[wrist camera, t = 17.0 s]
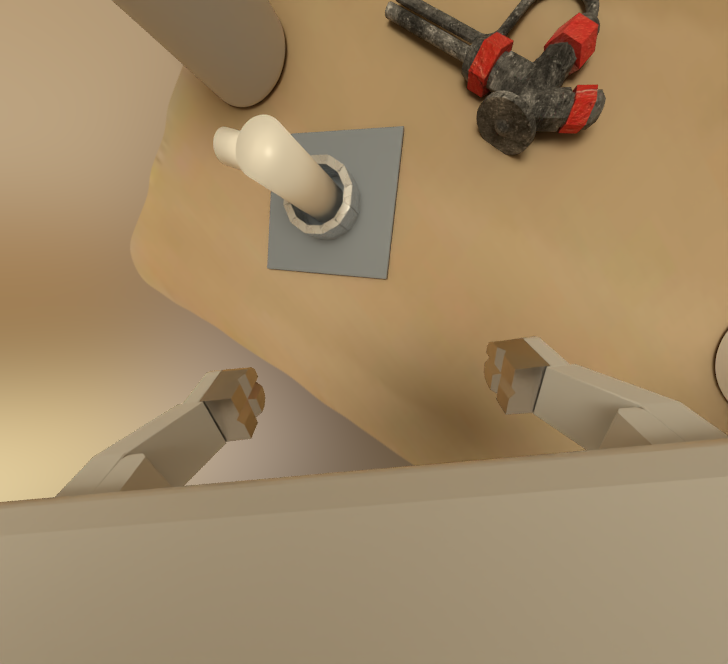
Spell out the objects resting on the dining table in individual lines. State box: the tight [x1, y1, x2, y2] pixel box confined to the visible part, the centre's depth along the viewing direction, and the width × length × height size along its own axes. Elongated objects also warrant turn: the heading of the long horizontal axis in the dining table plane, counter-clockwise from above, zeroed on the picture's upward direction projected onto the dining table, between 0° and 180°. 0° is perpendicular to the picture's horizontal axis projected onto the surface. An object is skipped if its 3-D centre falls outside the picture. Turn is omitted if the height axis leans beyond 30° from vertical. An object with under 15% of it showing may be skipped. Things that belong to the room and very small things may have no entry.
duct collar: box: [283, 154, 361, 240], centre depth 34 cm, size 9×9×4 cm
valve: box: [385, 0, 606, 155], centre depth 28 cm, size 6×26×15 cm
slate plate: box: [267, 126, 404, 279], centre depth 36 cm, size 18×18×1 cm
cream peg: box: [213, 115, 344, 223], centre depth 29 cm, size 8×5×14 cm, turn 68°
